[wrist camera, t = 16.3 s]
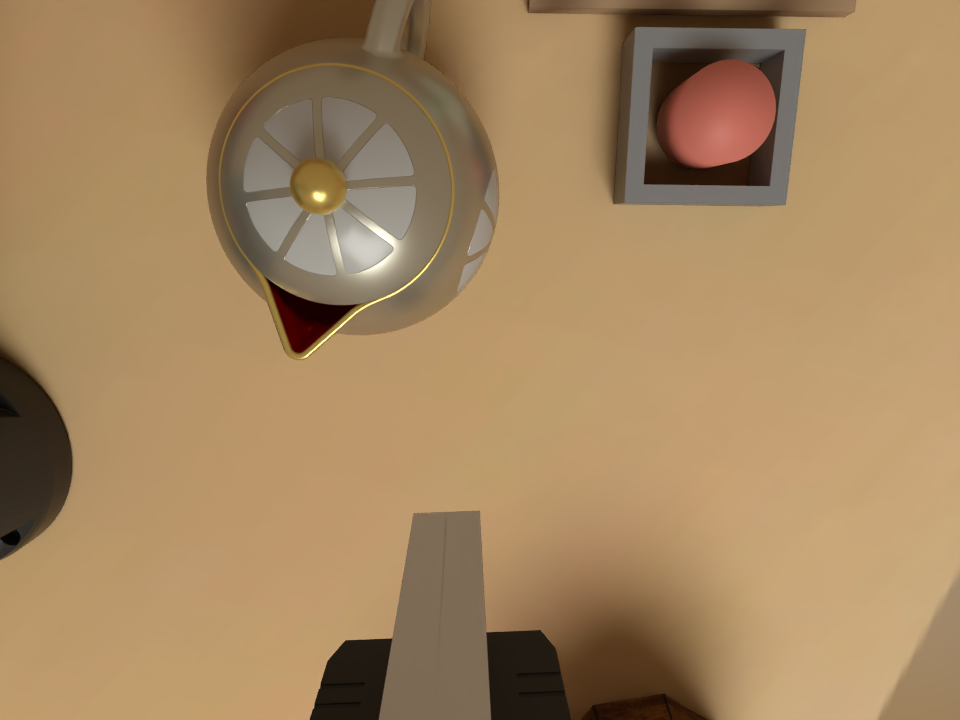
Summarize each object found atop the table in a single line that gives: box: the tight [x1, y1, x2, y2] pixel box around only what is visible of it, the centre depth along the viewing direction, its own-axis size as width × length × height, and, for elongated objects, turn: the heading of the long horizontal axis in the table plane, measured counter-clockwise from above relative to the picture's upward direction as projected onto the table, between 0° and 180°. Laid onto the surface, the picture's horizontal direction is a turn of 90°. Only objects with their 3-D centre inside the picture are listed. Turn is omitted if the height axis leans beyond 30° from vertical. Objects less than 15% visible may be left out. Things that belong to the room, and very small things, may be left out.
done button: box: [657, 59, 776, 169], centre depth 34 cm, size 5×5×4 cm
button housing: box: [614, 27, 806, 206], centre depth 35 cm, size 9×9×3 cm
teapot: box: [206, 0, 499, 360], centre depth 30 cm, size 18×14×16 cm
